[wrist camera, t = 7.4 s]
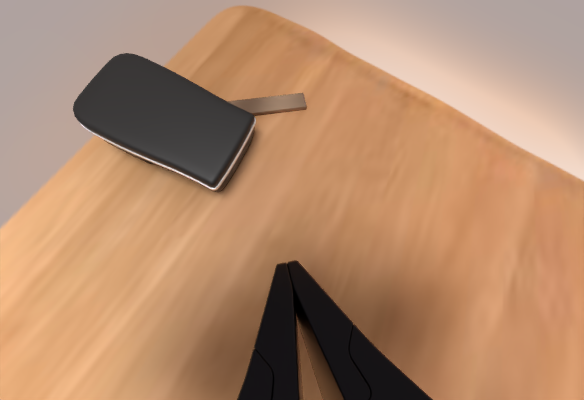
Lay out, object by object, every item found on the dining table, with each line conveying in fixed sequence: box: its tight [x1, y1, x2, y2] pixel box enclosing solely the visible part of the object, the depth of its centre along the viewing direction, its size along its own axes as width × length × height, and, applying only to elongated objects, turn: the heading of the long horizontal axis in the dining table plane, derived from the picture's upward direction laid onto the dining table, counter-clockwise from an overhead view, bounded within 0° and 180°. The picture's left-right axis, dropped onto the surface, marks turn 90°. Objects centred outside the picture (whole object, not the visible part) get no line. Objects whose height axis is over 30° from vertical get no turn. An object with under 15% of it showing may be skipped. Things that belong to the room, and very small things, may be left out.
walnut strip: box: [227, 93, 307, 116], centre depth 21 cm, size 10×2×1 cm, turn 101°
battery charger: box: [73, 53, 256, 192], centre depth 18 cm, size 7×4×11 cm
